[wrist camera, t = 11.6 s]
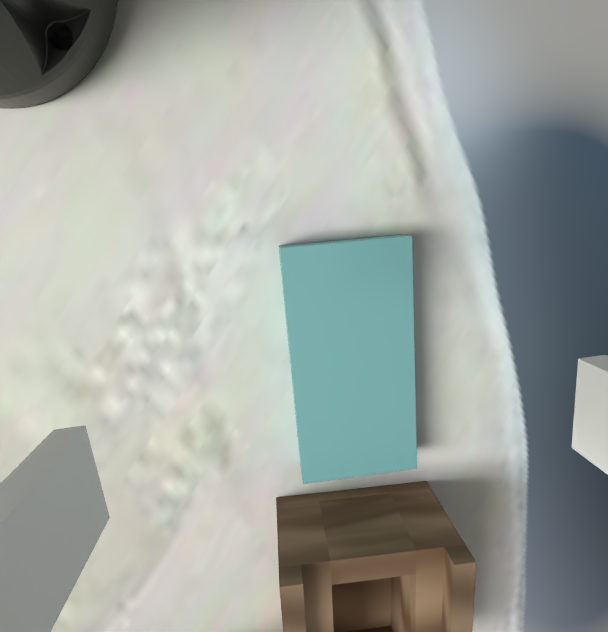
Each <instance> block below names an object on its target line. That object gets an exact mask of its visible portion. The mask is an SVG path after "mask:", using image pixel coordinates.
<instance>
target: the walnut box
mask: <svg viewBox="0 0 608 632" xmlns="http://www.w3.org/2000/svg"><path fill="white" fill-rule="evenodd" d="M276 502H277V530H278V557H279V585H280V598H281V610H282V621H283V632H472V626H473V608H474V590H475V572H476V561H475V560H474V558H473V557H472V555H471V553H470V552H469V550H468V548H467V547H466V545H465V544H464V542H463V540H462V539H461V537H460V535H459V534H458V532H457V531H456V529H455V527H454V526H453V524H452V522H451V521H450V519H449V518H448V516H447V514H446V513H445V511H444V509H443V508H442V506H441V505H440V503H439V501H438V500H437V498H436V496H435V495H434V493H433V492H432V490H431V488H430V487H429V485H428V483H427V482H426V481H425V482H416V483H407V484H398V485H388V486H379V487H370V488H361V489H352V490H343V491H334V492H324V493H315V494H306V495H297V496H288V497H279V498H276Z"/></svg>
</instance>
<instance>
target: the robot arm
mask: <svg viewBox="0 0 608 632" xmlns="http://www.w3.org/2000/svg"><path fill="white" fill-rule="evenodd" d="M116 5H117V0H0V108H22V107H28V106H33V105H37V104H41V103H44V102H47V101H50V100H52V99H54V98H56V97H58V96H60V95H62V94H64V93H65V92H67V91H69V90H70V89H72V88H73V87H74V86H75V85H77V84H78V83H79V82H80V81H81V80H82V79H83V78H84V77H85V76H86V75H87V74H88V73H89V72H90V71H91V69H92V68H93V67H94V65H95V64H96V63H97V61H98V59H99V58H100V56H101V54H102V52H103V51H104V49H105V47H106V44H107V42H108V39H109V37H110V34H111V31H112V27H113V23H114V19H115V13H116ZM572 448H573V449H574V450H576V451H577V452H578V453H580V454H581V455H582V456H584V457H585V458H586V459H588V460H589V461H590V462H592V463H593V464H594V465H596V466H597V467H598V468H600V469H601V470H602V471H604V472H605V473H606V474H607V475H608V356H606V355H602V356H594V357H587V358H580V359H578V370H577V384H576V397H575V411H574V424H573V438H572ZM109 518H110V517H109V513H108V509H107V506H106V502H105V498H104V494H103V491H102V487H101V483H100V479H99V475H98V472H97V468H96V464H95V460H94V457H93V453H92V449H91V445H90V442H89V438H88V434H87V430H86V426H78V427H71V428H64V429H56V430H53V431H52V432H51V433H50V434H49V435H48V436H47V437H46V438H45V439H44V440H43V441H42V442H41V443H40V444H39V445H38V446H37V447H36V448H35V449H34V450H33V451H32V452H31V453H30V454H29V455H28V456H27V457H26V458H25V459H24V460H23V461H22V462H21V463H20V464H19V466H18V467H17V468H16V469H15V470H14V471H13V472H12V473H11V474H10V475H9V476H8V477H7V478H6V479H5V480H4V481H3V482H2V483H1V484H0V632H51V630H52V628H53V626H54V624H55V622H56V620H57V618H58V616H59V614H60V612H61V610H62V608H63V607H64V605H65V603H66V601H67V599H68V597H69V595H70V593H71V591H72V589H73V587H74V585H75V583H76V581H77V579H78V578H79V576H80V574H81V572H82V570H83V568H84V566H85V564H86V562H87V560H88V558H89V556H90V554H91V552H92V550H93V549H94V547H95V545H96V543H97V541H98V539H99V537H100V535H101V533H102V531H103V529H104V527H105V525H106V523H107V521H108V520H109Z"/></svg>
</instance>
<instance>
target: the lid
mask: <svg viewBox="0 0 608 632" xmlns="http://www.w3.org/2000/svg"><path fill="white" fill-rule="evenodd" d="M279 254H280V264H281V274H282V284H283V294H284V304H285V314H286V324H287V334H288V344H289V354H290V364H291V374H292V384H293V394H294V405H295V415H296V425H297V435H298V445H299V455H300V465H301V472H302V479H303V484H308V483H315V482H322V481H330V480H337V479H345V478H352V477H359V476H367V475H374V474H381V473H389V472H396V471H403V470H411V469H417V443H416V397H415V350H414V303H413V256H412V236H408V235H391V236H380V237H370V238H359V239H348V240H337V241H327V242H316V243H305V244H294V245H283V246H279Z"/></svg>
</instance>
